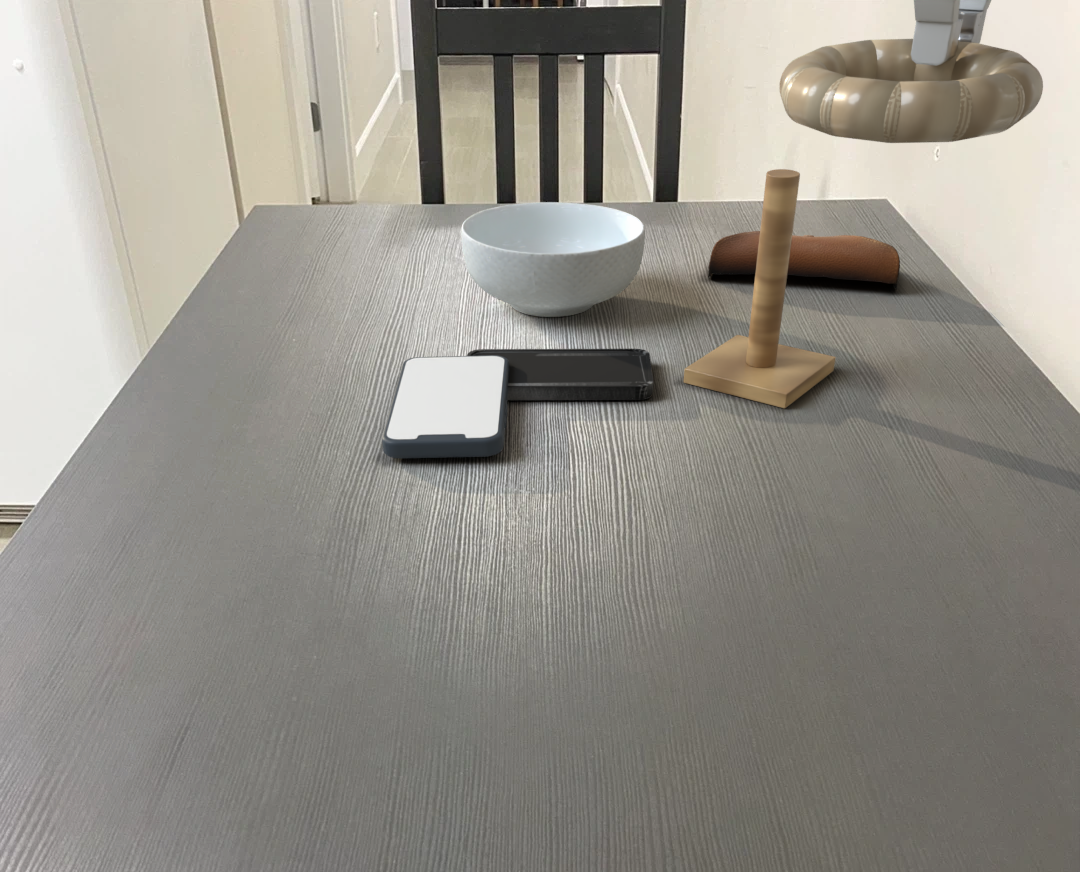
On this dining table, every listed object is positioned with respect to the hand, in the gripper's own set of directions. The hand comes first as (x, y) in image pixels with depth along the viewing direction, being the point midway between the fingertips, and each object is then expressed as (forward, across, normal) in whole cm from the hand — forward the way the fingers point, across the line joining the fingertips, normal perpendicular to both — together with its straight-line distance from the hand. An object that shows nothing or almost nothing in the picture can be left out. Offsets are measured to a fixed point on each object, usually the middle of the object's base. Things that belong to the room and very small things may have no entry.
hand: (944, 57), depth 55 cm
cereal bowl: (+26, +22, +40) cm, 52 cm away
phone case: (+26, -3, +32) cm, 41 cm away
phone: (+26, +7, +29) cm, 39 cm away
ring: (+1, -5, 0) cm, 5 cm away
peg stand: (+26, +17, +16) cm, 34 cm away
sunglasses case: (+26, +42, +23) cm, 55 cm away
